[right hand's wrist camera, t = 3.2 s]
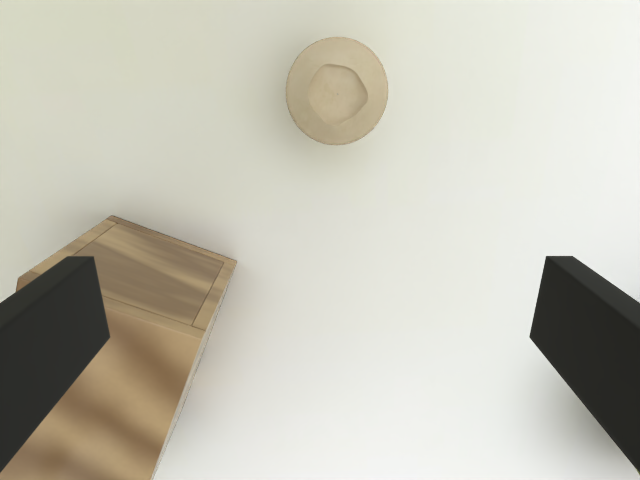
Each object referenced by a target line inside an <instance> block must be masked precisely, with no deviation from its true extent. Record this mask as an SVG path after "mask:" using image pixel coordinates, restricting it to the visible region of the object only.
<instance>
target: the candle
mask: <svg viewBox="0 0 640 480" xmlns="http://www.w3.org/2000/svg"><path fill="white" fill-rule="evenodd" d="M387 98H388V83H387V77H386V74H385V71H384V68H383V66H382V64H381V62H380V61H379V59H378V58H377V56H376V55H375V54H374V53H373V52H372V51H371V50H370V49H369V48H368V47H366V46H365V45H364V44H362V43H360V42H358V41H356V40H353V39H350V38H344V37H331V38H326V39H322V40H320V41H317V42H315V43H313V44H312V45H310V46H309V47H307V48H306V49H305V50H304V51H303V52H302V53H301V54H300V55H299V56H298V57H297V59H296V60H295V62H294V64H293V65H292V67H291V70H290V72H289V75H288V79H287V84H286V99H287V105H288V109H289V111H290V114H291V116H292V118H293V120H294V122H295V123H296V124H297V126H298V127H299V128H300V129H301V130H302V131H303V132H304V133H305V134H306V135H307V136H309V137H310V138H312V139H314V140H316V141H318V142H321V143H324V144H329V145H344V144H348V143H352V142H354V141H357V140H359V139H361V138H362V137H364V136H365V135H367V134H368V133H369V132H370V131H371V130H372V129H373V128H374V127H375V126H376V125H377V123H378V122H379V120H380V119H381V117H382V115H383V113H384V110H385V107H386V103H387Z"/></svg>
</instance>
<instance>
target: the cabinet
mask: <svg viewBox="0 0 640 480" xmlns="http://www.w3.org/2000/svg"><path fill="white" fill-rule="evenodd" d="M67 256H94V260H95V264H96V269H97V274H98V279H99V284H100V289H101V294H102V298H103V303H104V308H105V313H106V318H107V323H108V327H109V332H110V338H109V340H108V341H107V342H106V343H105V345H104V346H103V347H102V348H101V350H100V351H99V352H98V353H97V354H96V356H95V357H94V358H93V359H92V361H91V362H90V363H89V364H88V366H87V367H86V368H85V369H84V370H83V372H82V373H81V374H80V375H79V377H78V378H77V379H76V380H75V382H74V383H73V384H72V385H71V387H70V388H69V389H68V390H67V391H66V393H65V394H64V395H63V396H62V398H61V399H60V400H59V401H58V403H57V404H56V405H55V406H54V407H53V409H52V410H51V411H50V412H49V414H48V415H47V416H46V417H45V419H44V420H43V421H42V422H41V423H40V425H39V426H38V427H37V428H36V430H35V431H34V432H33V433H32V435H31V436H30V437H29V438H28V439H27V441H26V442H25V443H24V444H23V446H22V447H21V448H20V449H19V451H18V452H17V453H16V454H15V455H14V457H13V458H12V459H11V460H10V462H9V463H8V464H7V465H6V467H5V468H4V469H3V470H2V471H1V473H0V480H153V478H154V476H155V473H156V471H157V468H158V466H159V463H160V461H161V459H162V456H163V454H164V451H165V449H166V447H167V444H168V442H169V439H170V437H171V435H172V432H173V430H174V427H175V425H176V422H177V420H178V418H179V415H180V413H181V410H182V408H183V405H184V403H185V400H186V397H187V394H188V392H189V389H190V386H191V384H192V381H193V378H194V376H195V373H196V370H197V368H198V365H199V362H200V360H201V357H202V354H203V352H204V349H205V346H206V343H207V341H208V338H209V335H210V333H211V330H212V327H213V325H214V322H215V319H216V317H217V314H218V311H219V309H220V306H221V303H222V301H223V298H224V295H225V293H226V290H227V287H228V284H229V282H230V279H231V276H232V274H233V271H234V268H235V266H236V263H237V261H235V260H232V259H229V258H227V257H224V256H221V255H218V254H216V253H213V252H210V251H207V250H205V249H202V248H199V247H196V246H194V245H191V244H188V243H186V242H183V241H180V240H177V239H175V238H172V237H169V236H166V235H164V234H161V233H158V232H155V231H153V230H150V229H147V228H145V227H142V226H139V225H136V224H134V223H131V222H128V221H125V220H123V219H120V218H117V217H114V216H110V217H108V218H107V219H106V220H104V221H103V222H101V223H100V224H98V225H97V226H95V227H94V228H92V229H91V230H89V231H88V232H86V233H85V234H83V235H82V236H80V237H79V238H77V239H76V240H74V241H73V242H71V243H70V244H68V245H67V246H65V247H64V248H62V249H61V250H59V251H58V252H56V253H55V254H53V255H52V256H50V257H49V258H47V259H46V260H44V261H43V262H41V263H40V264H38V265H37V266H35V267H34V268H32V269H31V270H29V272H26V273H25V274H23V275H22V276H20V277H19V278H18V282H17V288H16V292H17V291H18V290H20V289H21V288H23V287H24V286H25V285H27V284H28V283H30V282H31V281H33V280H34V279H35V278H37V277H38V276H40V275H41V274H43V273H44V272H45V271H47V270H48V269H50V268H51V267H53V266H54V265H55V264H57V263H58V262H60V261H61V260H63V259H64V258H65V257H67Z"/></svg>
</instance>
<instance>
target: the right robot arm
mask: <svg viewBox="0 0 640 480" xmlns="http://www.w3.org/2000/svg"><path fill="white" fill-rule="evenodd" d="M109 338H110V332H109V327H108V323H107V318H106V313H105V308H104V303H103V298H102V294H101V289H100V284H99V279H98V274H97V269H96V264H95V260H94V256H67V257H65V258H64V259H63V260H61V261H60V262H58V263H57V264H55V265H54V266H53V267H51V268H50V269H48V270H47V271H45V272H44V273H43V274H41V275H40V276H38V277H37V278H35V279H34V280H33V281H31V282H30V283H28V284H27V285H25V286H24V287H23V288H21V289H20V290H18V291H17V292H16V293H14V294H13V295H11V296H10V297H8V298H7V299H6V300H4V301H3V302H1V303H0V473H1V471H2V470H3V469H4V468H5V467H6V465H7V464H8V463H9V462H10V460H11V459H12V458H13V457H14V455H15V454H16V453H17V452H18V451H19V449H20V448H21V447H22V446H23V444H24V443H25V442H26V441H27V439H28V438H29V437H30V436H31V435H32V433H33V432H34V431H35V430H36V428H37V427H38V426H39V425H40V423H41V422H42V421H43V420H44V419H45V417H46V416H47V415H48V414H49V412H50V411H51V410H52V409H53V407H54V406H55V405H56V404H57V403H58V401H59V400H60V399H61V398H62V396H63V395H64V394H65V393H66V391H67V390H68V389H69V388H70V387H71V385H72V384H73V383H74V382H75V380H76V379H77V378H78V377H79V375H80V374H81V373H82V372H83V370H84V369H85V368H86V367H87V366H88V364H89V363H90V362H91V361H92V359H93V358H94V357H95V356H96V354H97V353H98V352H99V351H100V350H101V348H102V347H103V346H104V345H105V343H106V342H107V341H108V340H109ZM530 338H531V340H532V341H533V342H534V343H535V345H536V346H537V347H538V348H539V350H540V351H541V352H542V353H543V354H544V356H545V357H546V358H547V359H548V361H549V362H550V363H551V364H552V366H553V367H554V368H555V369H556V370H557V372H558V373H559V374H560V375H561V377H562V378H563V379H564V380H565V382H566V383H567V384H568V385H569V387H570V388H571V389H572V390H573V391H574V393H575V394H576V395H577V396H578V398H579V399H580V400H581V401H582V403H583V404H584V405H585V406H586V407H587V409H588V410H589V411H590V412H591V414H592V415H593V416H594V417H595V419H596V420H597V421H598V422H599V423H600V425H601V426H602V427H603V428H604V430H605V431H606V432H607V433H608V435H609V436H610V437H611V438H612V439H613V441H614V442H615V443H616V444H617V446H618V447H619V448H620V449H621V451H622V452H623V453H624V454H625V455H626V457H627V458H628V459H629V460H630V462H631V463H632V464H633V465H634V467H635V468H636V469H637V470H638V472H639V473H640V303H639V302H637V301H636V300H634V299H633V298H632V297H630V296H629V295H627V294H626V293H624V292H623V291H622V290H620V289H619V288H617V287H616V286H614V285H613V284H612V283H610V282H609V281H607V280H606V279H605V278H603V277H602V276H600V275H599V274H597V273H596V272H595V271H593V270H592V269H590V268H589V267H587V266H586V265H585V264H583V263H582V262H580V261H579V260H577V259H576V258H575V257H573V256H546V260H545V264H544V269H543V274H542V279H541V284H540V289H539V294H538V298H537V303H536V308H535V313H534V318H533V323H532V327H531V332H530Z"/></svg>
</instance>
